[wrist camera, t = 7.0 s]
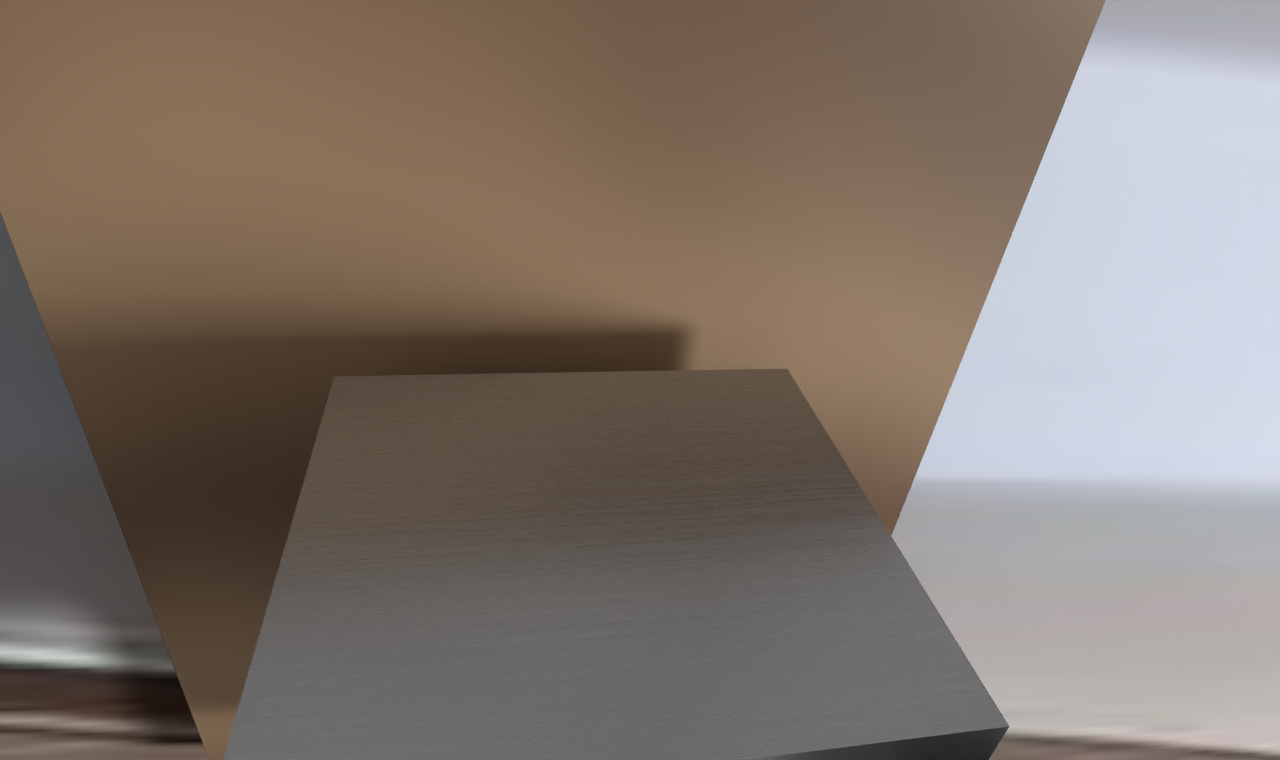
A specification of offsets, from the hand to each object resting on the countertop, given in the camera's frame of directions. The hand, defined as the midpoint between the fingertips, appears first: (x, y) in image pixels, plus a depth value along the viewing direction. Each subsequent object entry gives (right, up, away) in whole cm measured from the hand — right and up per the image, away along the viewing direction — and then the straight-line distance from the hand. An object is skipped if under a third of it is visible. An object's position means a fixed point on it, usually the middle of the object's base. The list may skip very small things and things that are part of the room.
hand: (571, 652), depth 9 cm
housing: (0, +1, +1) cm, 1 cm away
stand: (-1, +2, +3) cm, 4 cm away
